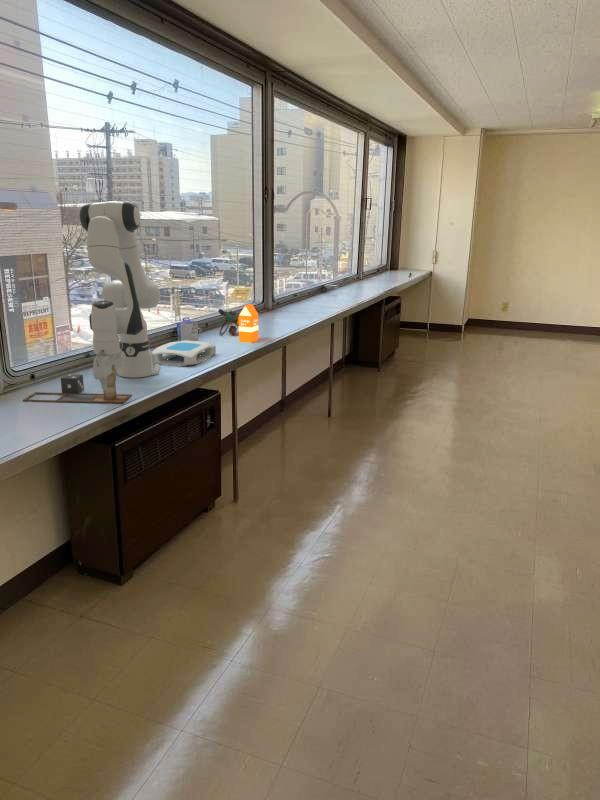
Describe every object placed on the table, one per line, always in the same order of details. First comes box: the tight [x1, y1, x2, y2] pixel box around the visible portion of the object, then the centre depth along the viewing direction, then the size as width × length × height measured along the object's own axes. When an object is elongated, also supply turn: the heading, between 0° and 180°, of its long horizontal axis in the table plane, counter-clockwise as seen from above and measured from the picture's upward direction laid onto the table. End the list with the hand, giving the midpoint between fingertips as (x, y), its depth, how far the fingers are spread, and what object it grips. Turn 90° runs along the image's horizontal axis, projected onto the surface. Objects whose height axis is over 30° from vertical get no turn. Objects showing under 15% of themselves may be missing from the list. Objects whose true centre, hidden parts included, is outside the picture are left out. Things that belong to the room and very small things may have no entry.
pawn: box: [102, 364, 117, 400], centre depth 214 cm, size 5×5×14 cm
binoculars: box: [217, 308, 239, 337], centre depth 337 cm, size 14×14×15 cm
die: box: [60, 373, 85, 393], centre depth 224 cm, size 6×6×6 cm
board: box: [22, 391, 133, 405], centre depth 217 cm, size 10×36×1 cm, turn 89°
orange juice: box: [238, 303, 259, 344], centre depth 320 cm, size 8×9×20 cm
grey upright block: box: [176, 316, 199, 342], centre depth 307 cm, size 10×6×14 cm, turn 124°
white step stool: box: [151, 340, 217, 367], centre depth 279 cm, size 21×28×6 cm
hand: (109, 385), depth 215 cm, fingers open, 8 cm apart
